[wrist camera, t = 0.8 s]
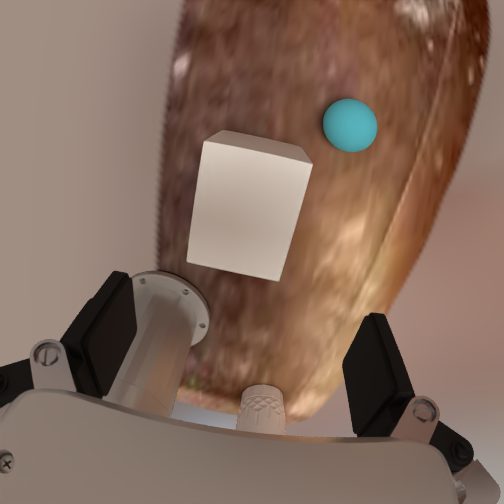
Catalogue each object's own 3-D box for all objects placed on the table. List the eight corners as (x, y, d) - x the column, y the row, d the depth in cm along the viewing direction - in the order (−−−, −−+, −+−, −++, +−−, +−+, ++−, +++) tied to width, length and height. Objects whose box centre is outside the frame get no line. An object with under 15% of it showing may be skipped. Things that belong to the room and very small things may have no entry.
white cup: (231, 386, 46) (223, 438, 37) (276, 377, 44) (276, 431, 35) (250, 410, 49) (246, 457, 40) (292, 402, 47) (293, 451, 39)
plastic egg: (343, 157, 28) (356, 168, 24) (308, 121, 27) (315, 125, 23) (377, 125, 27) (396, 131, 22) (343, 88, 25) (357, 86, 21)
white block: (277, 236, 33) (278, 281, 25) (206, 221, 33) (186, 261, 25) (301, 146, 28) (312, 164, 20) (222, 129, 28) (204, 140, 20)
